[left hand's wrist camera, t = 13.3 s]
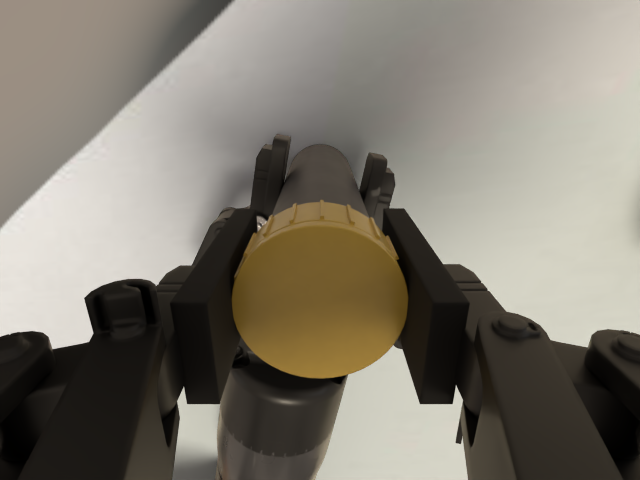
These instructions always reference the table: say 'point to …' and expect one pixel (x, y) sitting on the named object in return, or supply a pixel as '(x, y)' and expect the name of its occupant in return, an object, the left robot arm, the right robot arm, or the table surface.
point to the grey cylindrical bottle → (320, 180)
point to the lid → (319, 291)
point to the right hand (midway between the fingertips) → (329, 148)
